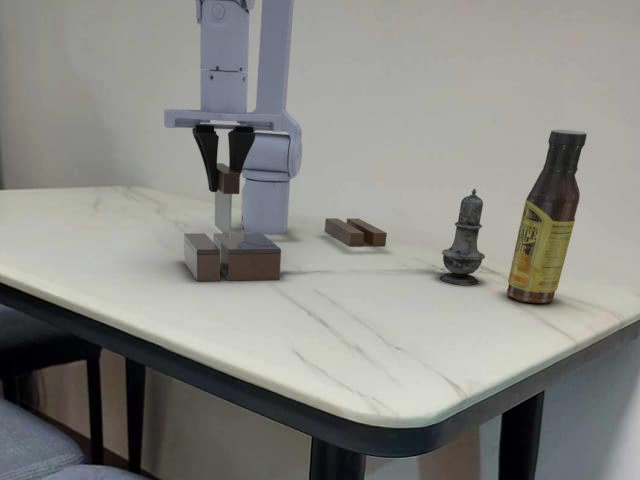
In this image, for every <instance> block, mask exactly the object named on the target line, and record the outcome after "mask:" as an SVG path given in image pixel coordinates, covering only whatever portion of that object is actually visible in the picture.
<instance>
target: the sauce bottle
mask: <svg viewBox="0 0 640 480" xmlns="http://www.w3.org/2000/svg"><path fill="white" fill-rule="evenodd" d="M587 135H588V133H587V132H584V131H579V130H571V129H560V128H559V129H558V128H557V129H552V130H550V134H549V137H548V141H547V142H548V149H547V153H546V158H545V161H544V164H543V168H542V170H541V172H540V173H539V175H538V176H537V179H536V180H535V182H534V184H533V186H532V188H531V190H530V191H529V193H528V195H527V197H526V199H525V201H524V205H523V206H524V207H523V210H522V215H521V219H520V224H519V229H518V233H517V238H516V242H515V246H514V247H515V248H514V251H513V256H512V261H511V264H510V265H511V266H510V269H509V270H510V271H509V275H508V280H507V282H508V285H507V290H506V294H507V296H508V297H510V298H512V299H513V300H516V301H518V302H522V303H530V304H549V303H551V302H552V301H553V300H554V298H555V294H556V291H558V288H559V284H560V279H561V275H562V272H563V269H564V264H565V259H566V257H567V253H568V249H569V244H570V241H571V238H572V233H573V229H574V226H575V222H576V218H575V217H576V215H577V210H578V206H579V202H580V198H581V197H580V196H581V195H580V194H581V193H580V188H579V186H578V181H577V178H576V173H577V172H578V169H579V168H578V164H579V161H580V157H581V153H582V150H583V148H584V146H585V145H586V140H587Z"/></svg>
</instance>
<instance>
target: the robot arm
mask: <svg viewBox="0 0 640 480" xmlns="http://www.w3.org/2000/svg"><path fill="white" fill-rule="evenodd" d="M294 4H295V0H261V15H260V17H261V18H260V32H259V49H258V68H257V82H256V97H255V98H256V99H255V108H254V110H252V111H251V112H250V111H249V112H248V87H249V86H248V85H249V83H248V82H249V81H248V80H249V49H250V48H249V46H250V44H249V43H250V11H252V10H254V8H255V5H256V0H195V13H196V15H195V16H196V23H197V25H199V26H200V29H199V31H200V34H199V36H200V40H199V41H200V42H199V43H200V45H199V46H200V51H199V52H200V56H199V57H200V61H199V62H200V63H199V64H200V68H199V69H200V109H175V108H173V109H172V108H171V109H169V108H164V109H163V126H164V127H165V128H167V129H175V128H183V129H192V130H191V131H192V136H193V139H194V140H195V143H196V145H197V148H198V150H199V153H200V155H201V159H202V162H203V165H204V169H205V173H206V178H207V185H208V191H209V192H211V193H215V192H217V184H218V180H217V163H218V152H219V151H218V150H219V141H220V140H219V139H220V136H219V135H218V134H217V130H230V131H229V132H227V138H228V139H227V140H228V158H229V159H228V160H229V163H228V167H230V168H231V169H233V170H235V171H236V172H238V173H240V176H241V175H242V179H245V180H244V181H245V182H244V184H243V186H242V189H241V205H240V206H241V213H240V224H241V226H243V230H244V231H245V232H248V233H262V234H263V235H282V234H286V233H287V232H288V226H289V225H288V224H289V210H290V209H289V207H290V205H289V204H290V191H291V189H290V188H291V180H293V179H295V178H296V177H297V176H298V174H299V173H300V170H301V166H302V159H303V142H302V135H303V130H302V128H301V125H300V123H299V122H298V121H297V120H296V119H295V118H294V117H293V116H292V115H291V114H290V113H289V112H288V111H287V98H288V87H289V84H288V83H289V82H288V81H289V74H290V73H289V72H290V59H291V46H292V31H293V18H294V6H295V5H294ZM211 121H217V122H219V121H220V122H236V124H224V123H222V124H220V123H211ZM257 131H263V132H257ZM264 131H265V132H264ZM270 132H274V133H270ZM275 132H276V133H275ZM277 132H278V133H277ZM281 132H286V133H287V134H283V133H281Z"/></svg>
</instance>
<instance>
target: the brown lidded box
mask: <svg viewBox="0 0 640 480" xmlns="http://www.w3.org/2000/svg"><path fill="white" fill-rule="evenodd" d="M212 235H213V237H212V241H213V242H214V244H215V245H216V246H217V247H218V248H219V249H220V273H221V274H222V275H223V276H224V277H225V278H226V280H227V281H230V282H231V281H236V282H237V281H271V280H272V281H277V280H279V281H280V280H281V264H282V263H281V261H282V248H280V247H279V246H278V245H277V244H276V243H275V242H273V240H271V239H269V238H268V237H267V236H266V235H265V234H262V233H251V232H248V233H247V232H243V233H241V232H237V233H234V232H233V233H232V232H231V239H228V238H227V237H226V236H225V235H224V234H223V233H222V232H219V233H217V232H216V233H215V232H214V233H213V234H212Z"/></svg>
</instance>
